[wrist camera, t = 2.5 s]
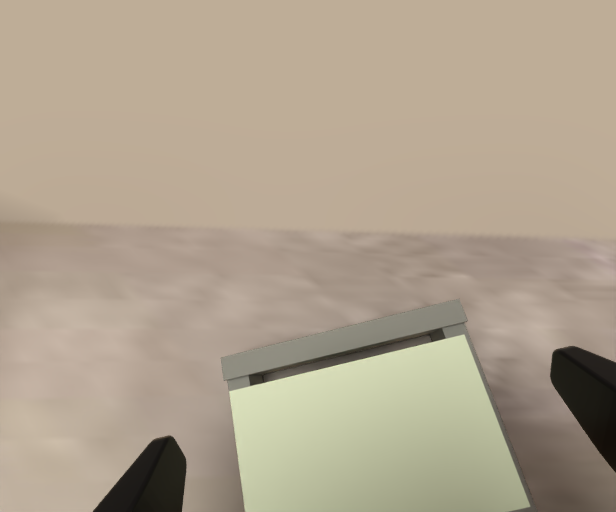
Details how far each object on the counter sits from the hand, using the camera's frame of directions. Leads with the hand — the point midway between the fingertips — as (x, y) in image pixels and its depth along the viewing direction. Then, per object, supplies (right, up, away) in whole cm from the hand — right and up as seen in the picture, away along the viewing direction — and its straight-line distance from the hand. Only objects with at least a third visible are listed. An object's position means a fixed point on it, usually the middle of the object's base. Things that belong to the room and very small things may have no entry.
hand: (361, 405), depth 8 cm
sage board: (+1, -4, +9) cm, 10 cm away
